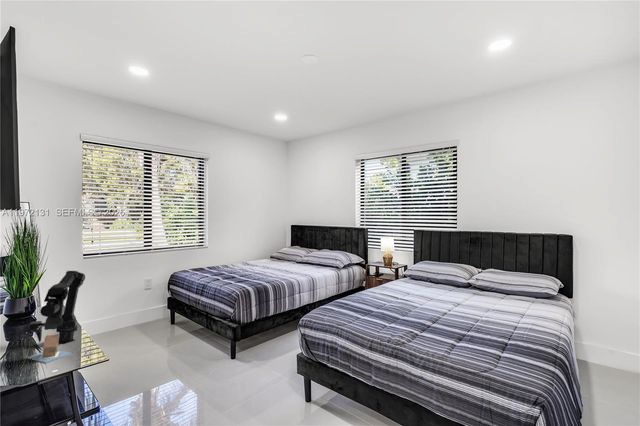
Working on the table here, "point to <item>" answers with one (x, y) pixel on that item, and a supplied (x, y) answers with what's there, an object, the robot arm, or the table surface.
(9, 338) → the table surface
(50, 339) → the terracotta block
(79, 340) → the table surface
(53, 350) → the walnut block
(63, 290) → the robot arm
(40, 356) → the board
